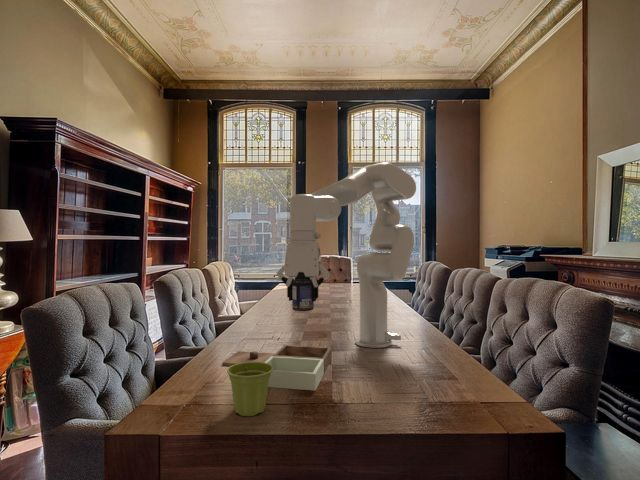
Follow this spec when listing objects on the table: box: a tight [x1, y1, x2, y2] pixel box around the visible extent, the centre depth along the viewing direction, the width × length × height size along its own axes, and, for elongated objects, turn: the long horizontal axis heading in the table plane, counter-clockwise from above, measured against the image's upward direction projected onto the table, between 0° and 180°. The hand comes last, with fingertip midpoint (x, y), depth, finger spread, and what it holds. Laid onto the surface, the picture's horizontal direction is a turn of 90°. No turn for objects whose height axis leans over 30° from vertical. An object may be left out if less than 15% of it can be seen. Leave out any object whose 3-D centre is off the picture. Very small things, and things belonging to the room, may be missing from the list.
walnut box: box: [273, 344, 332, 373], centre depth 108 cm, size 15×12×4 cm
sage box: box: [265, 356, 325, 392], centre depth 95 cm, size 15×12×4 cm
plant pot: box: [226, 362, 273, 417], centre depth 78 cm, size 9×9×9 cm
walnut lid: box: [221, 350, 277, 367], centre depth 111 cm, size 15×12×2 cm
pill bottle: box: [291, 272, 314, 312], centre depth 108 cm, size 6×6×11 cm
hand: (302, 299), depth 108 cm, fingers closed on pill bottle, 6 cm apart
